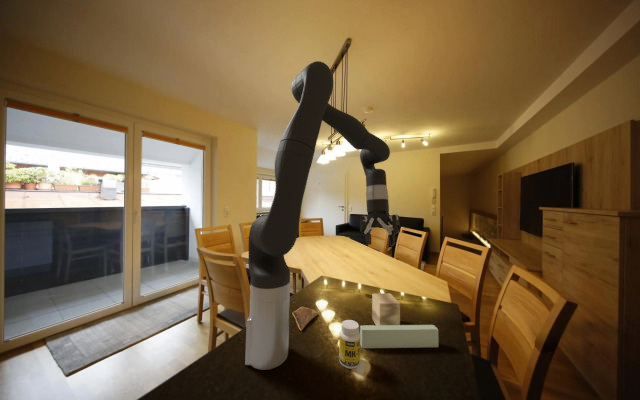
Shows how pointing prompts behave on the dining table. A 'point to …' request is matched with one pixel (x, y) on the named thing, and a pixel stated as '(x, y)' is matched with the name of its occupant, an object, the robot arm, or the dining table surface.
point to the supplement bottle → (349, 344)
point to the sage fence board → (398, 336)
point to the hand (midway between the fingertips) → (379, 245)
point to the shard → (304, 316)
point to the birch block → (385, 309)
